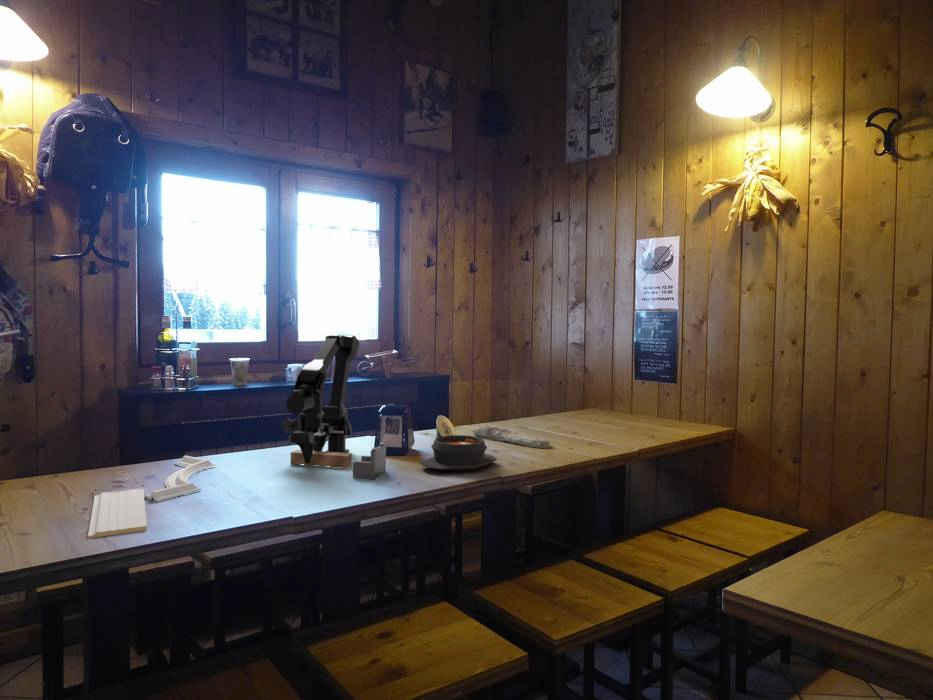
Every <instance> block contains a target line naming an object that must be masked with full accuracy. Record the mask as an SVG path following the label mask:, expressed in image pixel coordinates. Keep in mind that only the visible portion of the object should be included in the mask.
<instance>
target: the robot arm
mask: <svg viewBox="0 0 933 700" xmlns="http://www.w3.org/2000/svg"><path fill="white" fill-rule="evenodd" d="M358 349H360V340H359V339H358V338H357V337H356V335H348V334H347V335H346V334H345V335H342V334H339V333H337V334H335V333H329V334H327V335H325V340H324V342H323V344H322V345H321V347H320V349H319V350H318V352H317V353H316V355H315V356H314V359H313V360H312V361H309V362H307V363H306V364H305V365H303V367H302V368H301V369H300V371H299V373H298V374H297V379H296V380H295V383H294V385H293V389H292V395H290V396H289V397H288V398H287V400H286V402H285V403H286V409H287V410H288V412H289V413H290V414H292V415H298V418H296V419H294V420H292V419H291V418H287V419H283V422H282V428H281V429H282V430H284V431H285V433H286V434H289V433H290V434H289V435H288V436H289V438H288V441H289V443H293V444H295V445H297V446H298V447H299V448H300V449H299V450H301V451H302V454H303V457H304V461H305V463H307V464H308V463H309V462H310V459H311V456H312V453H313V451H323V449H324V447H325V445H326V443H327V450H324V452H340V453H349V452H350V449H348V448H346V441H347V440H346V439H347V438H346V437H347V436H351V435H352V431H353V426H352V424H351V422H350V420H349V418H348V416H349V413H348V412H349V411H348V410H347V408H346V406H345V402H346V394H347V389H348V382H349V373H350V367H351V363H352V361H354V359H355V358H356V356H357V353H358ZM334 359H335V363H334V371H333V376H332V383H331V389H330V396H329V397H330V398H329V403H327V404H326V406H323V394H325V389H323V388H324V385H325V384H326V383H327V380H328V369H329V366H331V363H332V361H333V360H334Z"/></svg>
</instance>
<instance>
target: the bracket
mask: <svg viewBox="0 0 933 700" xmlns="http://www.w3.org/2000/svg"><path fill="white" fill-rule="evenodd" d="M360 458H361V459H360V460H352V478H353V477H356V478H355V479H365V478H370V479H372V480H371V481H375V480H377V479H378V478H379V477H381V476H382V475H383V474H384V473H385V472H387V471H386V470H387V464H386V463H387V460H386V458H387V444H386V442H380V443H379V445H378V446H377V447H376V446H375V447H371V451H370V455H362V456H360ZM380 475H381V476H380ZM376 478H377V479H376ZM370 479H369V480H370Z"/></svg>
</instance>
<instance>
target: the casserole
mask: <svg viewBox="0 0 933 700" xmlns="http://www.w3.org/2000/svg"><path fill="white" fill-rule="evenodd" d="M430 447H431V449H432V451H433V456H431V457H430V458H426V459H423V460H420V461H419V464H420V465H421V466H423V467H425V468H428V469H433V470H439V471H440V470H441V471H444V470H446V471H452V472H468V471H473V470H476V469H479V468H483V467H485V466H486V465H487V466H488V465H489V464H491V463H493V462H496V461H497V460H498V458H497V457H496V456H493V455H490V454H487V453H486V450H487V449H488V446H487V445H486V442H485V440H484V438H481V437H479V436H478V437H477V436H473V435H463V434H462V435H461V434H459V435H458V434H456V435H454V434H453V435H444V436H439V437H435V438H434V442H433V444H431V446H430Z"/></svg>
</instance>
